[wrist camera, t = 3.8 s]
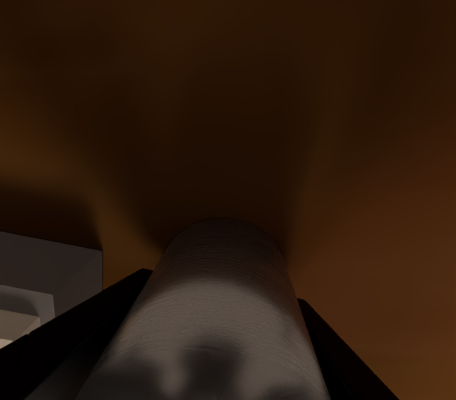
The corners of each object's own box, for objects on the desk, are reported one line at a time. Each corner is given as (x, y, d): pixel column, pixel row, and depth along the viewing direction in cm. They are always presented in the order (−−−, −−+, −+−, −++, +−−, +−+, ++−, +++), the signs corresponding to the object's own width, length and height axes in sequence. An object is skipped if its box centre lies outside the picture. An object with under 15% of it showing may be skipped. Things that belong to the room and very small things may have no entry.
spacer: (268, 331, 9) (296, 531, 5) (158, 309, 9) (76, 490, 5) (301, 232, 8) (393, 385, 3) (169, 206, 8) (62, 322, 3)
